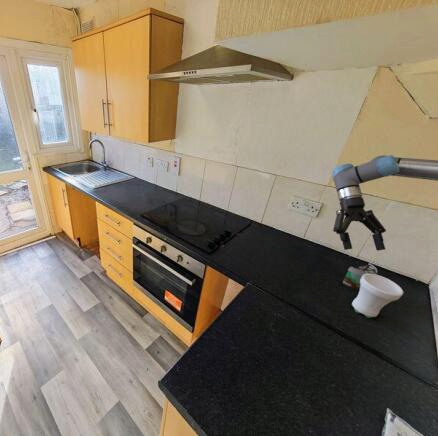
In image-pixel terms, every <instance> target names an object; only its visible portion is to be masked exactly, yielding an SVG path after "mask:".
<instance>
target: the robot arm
mask: <svg viewBox="0 0 438 436" xmlns="http://www.w3.org/2000/svg"><path fill="white" fill-rule="evenodd" d="M331 174H332V180H333V182H334V183H333V184H334V186H335V189H336V193H337V197H338V201H339V206H340V209H338V210H336V211H335V214H336V217H335V222H334V224H333V229H332V231H333V232H334V233H336V234H337V235H339V239H340V241H341V242H342V246H343V250H344V251H346V250H353V245H352V241H351V237H350V234H349V232H348V229H349V227H350V225H351V223H352V222H358V223H361V224H362V225H363V226H365V227H366V228H367V229H368V230H369V231H370V232H371V233H372V234H371V236H372V239H373V243H374V246H375V251H377V252H378V251H384V250H386V246H385V243H384V237H383V234H384V233H386V232H387V230H386V228H385V226H383V225H382V223H381V222H380V221H379V219H378V218H377V217H376V215H375V213H374V211H373V210H372V209H369V210H365V207H366V203H365V200H364V197H363V192H362V189H361V187H360V184H364V183H366V182H371V181H375V180H378V179H381V178H385V177H389V176H391V177H400V178H401V177H402V178H409V179H417V180H419V179H420V180H427V181H436V182H438V159H427V158H414V157H413V158H411V157H410V158H408V157H399V156H394V155H391V154H390V155H378V156H375V157H374V158H372V159H371V160H370V161H367V162H365V163H361V164H359V165H355V166H354V164H352V163H344V164H340V165H337V166H335V167H333V169H332V171H331Z"/></svg>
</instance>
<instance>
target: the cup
mask: <svg viewBox="0 0 438 436" xmlns="http://www.w3.org/2000/svg"><path fill="white" fill-rule="evenodd" d="M403 295H404V290H403V289H402V287H400V285H399V284H398V283H396V282H395V281H393V280H391V279H389V278H387V277H385V276H383V275H379V274H377V275H375V274H364V275H363V276H362V277H361V279H360V290H358V294H357V296H356V297H355V298H354V299H353V301H352V302H351V307H353V309H354V311H355V313H357V314H361V315H364V317H365V318H367V319H370V318H376V317H377V316H378V315H379V314H380V311H381V310H382V309H383V308H384V307H385V306H386V305H388V304H390V303H391V302H395V301H397V300H399V299H400V298H401V297H402V296H403Z"/></svg>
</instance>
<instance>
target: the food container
mask: <svg viewBox="0 0 438 436" xmlns="http://www.w3.org/2000/svg"><path fill="white" fill-rule="evenodd" d="M364 274H375V275H378V269H377V267H376V266H375V265H373V264H372V263H371V262H368V264H365V265H358V266H354V267H353V266H350V267H349V268H347V272H346V274H345V276H344V278H343V281H342V282H341V284H342V285H344V286H346V287H348V288H350V289H351V290H356V291H360V279H361V277H362V276H363V275H364Z"/></svg>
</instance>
